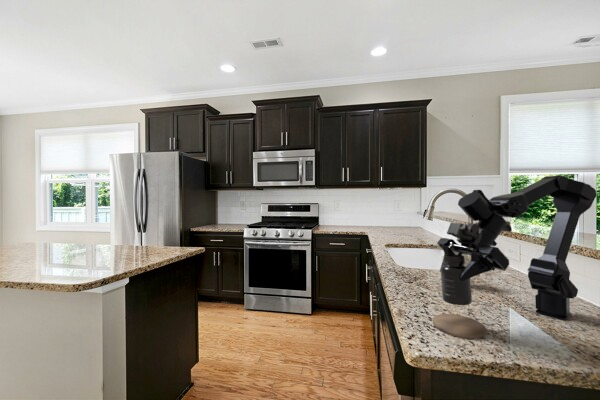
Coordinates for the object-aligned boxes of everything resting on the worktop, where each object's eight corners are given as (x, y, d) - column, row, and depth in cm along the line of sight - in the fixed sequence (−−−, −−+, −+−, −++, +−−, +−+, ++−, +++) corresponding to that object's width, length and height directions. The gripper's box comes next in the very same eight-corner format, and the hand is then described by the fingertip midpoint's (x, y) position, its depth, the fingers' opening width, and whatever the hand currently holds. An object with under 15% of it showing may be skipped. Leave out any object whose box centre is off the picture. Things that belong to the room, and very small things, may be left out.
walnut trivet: (495, 330, 69) (495, 326, 69) (471, 344, 62) (471, 339, 62) (447, 314, 79) (447, 310, 79) (423, 324, 72) (423, 320, 72)
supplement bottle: (454, 296, 76) (452, 253, 76) (478, 303, 69) (475, 256, 70) (436, 299, 73) (434, 255, 74) (459, 307, 67) (456, 258, 67)
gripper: (442, 211, 82) (409, 249, 80) (498, 213, 63) (458, 263, 61) (464, 235, 83) (434, 274, 81) (526, 245, 65) (488, 295, 63)
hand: (450, 275), depth 72 cm, fingers closed on supplement bottle, 7 cm apart
